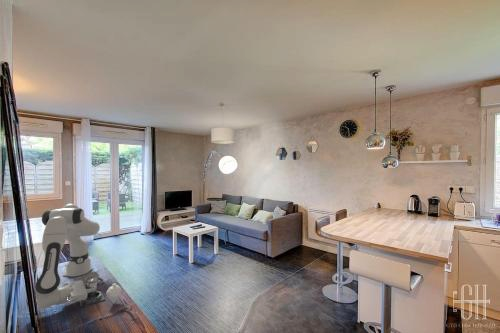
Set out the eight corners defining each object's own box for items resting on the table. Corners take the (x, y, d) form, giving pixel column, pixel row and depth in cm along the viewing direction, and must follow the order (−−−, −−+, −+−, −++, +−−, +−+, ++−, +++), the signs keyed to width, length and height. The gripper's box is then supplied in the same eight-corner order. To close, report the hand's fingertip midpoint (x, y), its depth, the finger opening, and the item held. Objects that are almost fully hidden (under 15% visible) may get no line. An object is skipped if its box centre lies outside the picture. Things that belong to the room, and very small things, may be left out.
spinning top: (107, 301, 140) (107, 281, 140) (121, 298, 143) (122, 279, 143) (104, 308, 133) (105, 288, 133) (119, 305, 136) (120, 285, 136)
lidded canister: (85, 295, 141) (86, 279, 141) (95, 292, 144) (96, 276, 145) (87, 299, 137) (88, 282, 137) (97, 295, 141) (98, 279, 141)
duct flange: (78, 299, 141) (78, 294, 141) (100, 292, 149) (101, 288, 149) (81, 308, 132) (81, 303, 132) (105, 300, 141) (105, 296, 141)
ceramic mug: (84, 288, 153) (85, 277, 153) (85, 283, 160) (86, 272, 160) (103, 285, 159) (103, 274, 159) (103, 280, 165) (104, 269, 166)
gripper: (67, 296, 124) (97, 287, 134) (64, 282, 139) (91, 275, 149) (67, 307, 124) (96, 298, 134) (63, 292, 139) (90, 284, 149)
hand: (93, 286), depth 141 cm, fingers closed on lidded canister, 5 cm apart
